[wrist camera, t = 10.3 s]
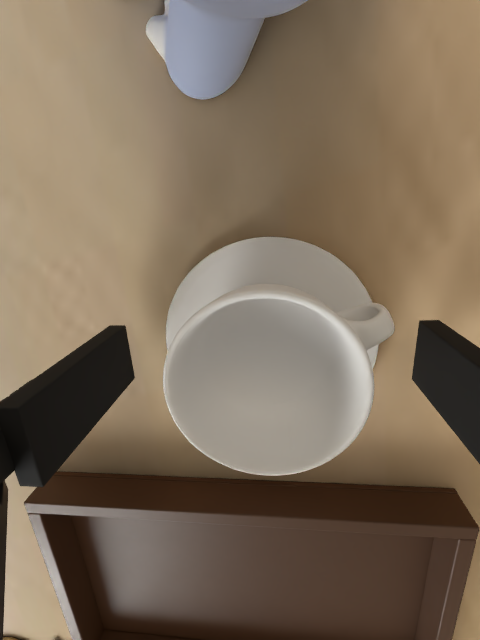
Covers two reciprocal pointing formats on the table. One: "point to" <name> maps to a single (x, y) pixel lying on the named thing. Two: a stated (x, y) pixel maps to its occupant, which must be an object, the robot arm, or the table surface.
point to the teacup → (272, 355)
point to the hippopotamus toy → (210, 40)
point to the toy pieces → (9, 638)
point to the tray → (252, 558)
